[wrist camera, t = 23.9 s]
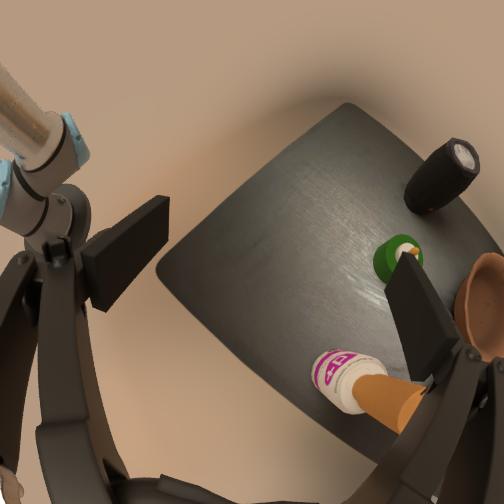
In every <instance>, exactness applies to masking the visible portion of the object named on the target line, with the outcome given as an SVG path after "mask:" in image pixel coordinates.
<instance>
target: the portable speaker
mask: <svg viewBox="0 0 504 504" xmlns="http://www.w3.org/2000/svg"><path fill="white" fill-rule="evenodd" d="M479 172H480V163H479V156H478V154H477V153H476V151H475V149H474V148H473V146H471V145H470V144H469V143H468V142H467V141H464V140H460V139H456V138H451V139H450V140H449V141H448V142H447V143H445V144H444V145H442V146H441V147H440V148H439V149H437V150H436V151H434V152H433V153H432V154H431V155H430V156H429V157H428V159H427V160H426V161H425V162H424V163H423V164H422V165H421V166H420V167H419V168H418V170H417V171H416V172H415V174H414V175H413V177H412V178H411V180H410V181H409V183H408V185H407V186H406V190H405V195H404V200H405V202H406V205H407V206H408V208H409V209H410V210H411V211H413V212H417V213H420V214H424V215H427V214H429V213H432V212H434V211H436V210H438V209H440V208H442V207H444V206H445V205H447V204H448V203H449V202H451V201H452V200H453V199H454V198H456V197H457V196H458V195H460V194H461V193H462V192H463V191H465V190H466V189H467V188H468V186H469V185H470V184H471V182H472V181H473V180H474V179H475V177H476V176H477V175H478V174H479Z"/></svg>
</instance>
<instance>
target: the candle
mask: <svg viewBox="0 0 504 504" xmlns="http://www.w3.org/2000/svg"><path fill="white" fill-rule="evenodd" d="M402 251H405V252H408V253H412V254H414V256H415V257H416V259H417V260H418V262H419V264H420V265H421V267H422V265H423V255H422V251H421V249H420V247H419V245H418V244H417V242H416V241H415V240H414V239H413V238H411V237H410V236H407V235H404V234H400V235H396V236H394V237H393V238H391V239H390V240H388V241H387V242H386V243H384V244H383V245H381V246H380V247H379V248H378V249H377V250H376V252H375V254H374V260H373V264H374V269H375V272H376V274H377V275H378V277H379V278H380V279H381V280H382V281H383V282H385V283H387V284H388V282H389V280H390V278H391V275H392V273H393V271H394V269H395V267H396V265H397V263H398V260H399V258H400V256H401V254H402Z"/></svg>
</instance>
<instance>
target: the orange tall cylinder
mask: <svg viewBox="0 0 504 504" xmlns="http://www.w3.org/2000/svg"><path fill="white" fill-rule="evenodd" d="M425 388H426V387H424V386H421V385H417V384H414V383H410V382H407V381H403V380H400V379H397V378H393V377H390V376H387V375H384V374H374V375H371V374H366V375H363V376H361V377H359V378H358V379H357V380H356V381H355V383H354V385H353V387H352V395H353V397H354V399H355V400H356V401H357V403H358V405H359V407H360V408H361V409H362V410H364V411H365V412H366V413H368V414H369V415H371V416H372V417H374V418H375V419H377V420H378V421H380V422H381V423H382V424H384V425H385V426H387V427H388V428H390V429H391V430H393V431H394V432H396V433H398V434H399V435H400V434H401V432H402V431H403V429H404V428H405V426H406V424H407V423H408V421H409V420H410V418H411V416H412V415H413V413H414V411H415V410H416V408H417V406H418V404H419V403H420V401H421V399H422V397H423V395H424V394H423V395H420V393H421V392H422V391H423V390H424V389H425Z"/></svg>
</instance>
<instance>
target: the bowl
mask: <svg viewBox="0 0 504 504" xmlns="http://www.w3.org/2000/svg"><path fill="white" fill-rule="evenodd" d="M454 319H455V323H456V326H457V327H458V329H459V331H460V333H461V335H462V337H463V339H464V341H465V343H468V344H471V345H473V346H475V347H476V348H477V349H478V351H479V352H480V353H481V356H482V361H485V362H489V363H490V362H491V361H492V360H493V359H494V358H495V357H496V356H499V357H501V358H503V357H504V257H502V256H500V255H498V254H496V253H485V254H482V255H481V257H480V258H479V259H478V260H477V261H476V262H475V263H474V264H473V267H472V270H471V272H470V275H469V276H468V277H467V278H466V279H465V280H464V281H463V282H462V283H461V286H460V288H459V290H458V292H457V295H456V299H455V306H454Z"/></svg>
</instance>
